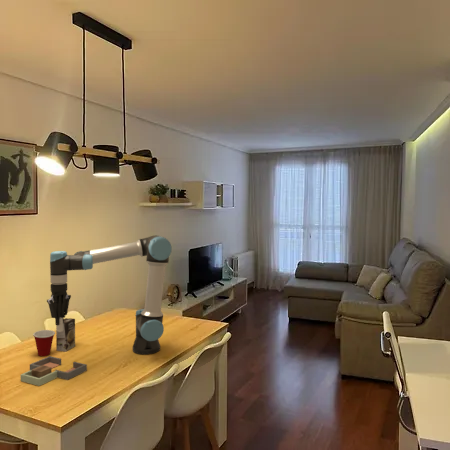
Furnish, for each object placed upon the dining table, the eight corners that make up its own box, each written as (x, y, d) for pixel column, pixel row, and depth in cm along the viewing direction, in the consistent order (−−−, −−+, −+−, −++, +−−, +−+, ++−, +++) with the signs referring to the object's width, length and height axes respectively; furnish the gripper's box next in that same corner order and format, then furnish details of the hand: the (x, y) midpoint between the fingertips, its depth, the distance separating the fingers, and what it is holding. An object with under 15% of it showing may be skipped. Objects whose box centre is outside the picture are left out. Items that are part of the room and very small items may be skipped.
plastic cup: (41, 359, 206) (41, 337, 206) (29, 355, 212) (28, 333, 212) (59, 353, 216) (59, 331, 215) (47, 349, 221) (47, 328, 221)
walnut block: (51, 376, 186) (51, 367, 186) (41, 381, 181) (40, 372, 181) (42, 374, 189) (42, 365, 189) (31, 379, 183) (31, 369, 183)
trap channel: (86, 370, 193) (86, 364, 193) (49, 388, 173) (49, 382, 173) (49, 361, 204) (49, 356, 204) (10, 378, 184) (10, 371, 184)
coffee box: (66, 351, 218) (66, 322, 218) (55, 350, 220) (55, 322, 219) (75, 346, 227) (75, 318, 227) (65, 345, 228) (65, 317, 228)
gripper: (63, 280, 200) (64, 326, 201) (42, 284, 188) (43, 333, 189) (75, 281, 196) (75, 328, 197) (53, 286, 185) (54, 336, 186)
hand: (59, 331), depth 193 cm, fingers closed
